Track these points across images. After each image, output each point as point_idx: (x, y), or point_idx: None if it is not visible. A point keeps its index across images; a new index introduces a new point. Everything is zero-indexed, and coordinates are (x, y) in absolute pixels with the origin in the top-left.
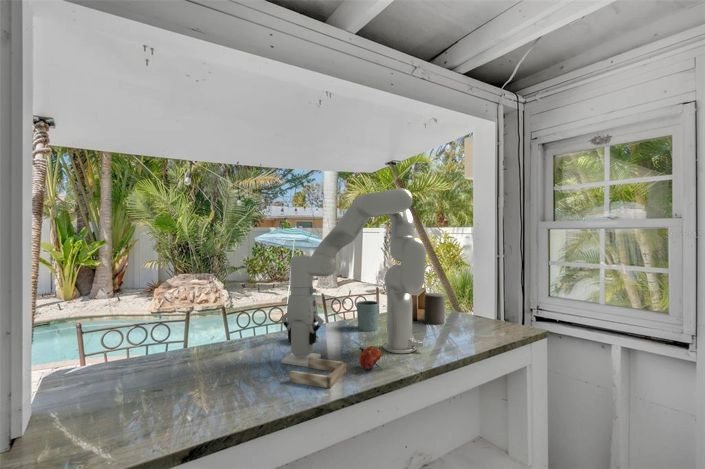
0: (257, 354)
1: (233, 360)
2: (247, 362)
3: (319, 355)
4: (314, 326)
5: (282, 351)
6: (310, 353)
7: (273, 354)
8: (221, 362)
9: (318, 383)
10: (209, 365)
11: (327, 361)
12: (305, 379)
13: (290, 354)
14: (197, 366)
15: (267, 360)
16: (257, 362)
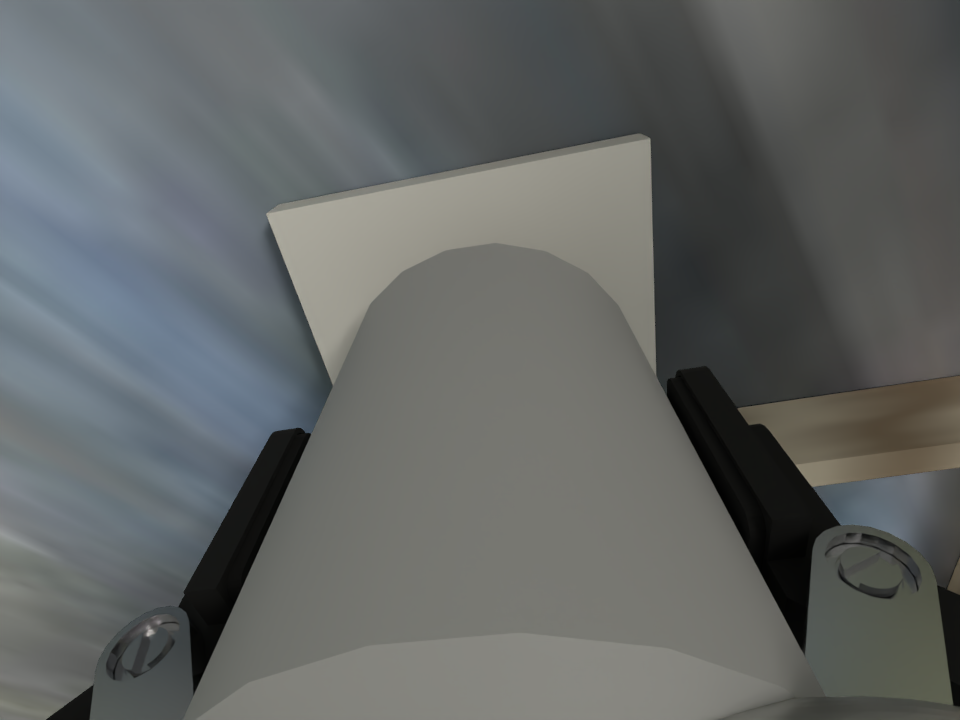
0: (2, 425)
1: (34, 584)
2: (153, 567)
3: (648, 177)
4: (897, 684)
5: (80, 224)
6: (505, 192)
7: (112, 351)
8: (23, 632)
9: None
10: (34, 678)
11: (924, 467)
12: None
13: (323, 345)
14: (6, 706)
15: (229, 481)
16: (210, 539)
